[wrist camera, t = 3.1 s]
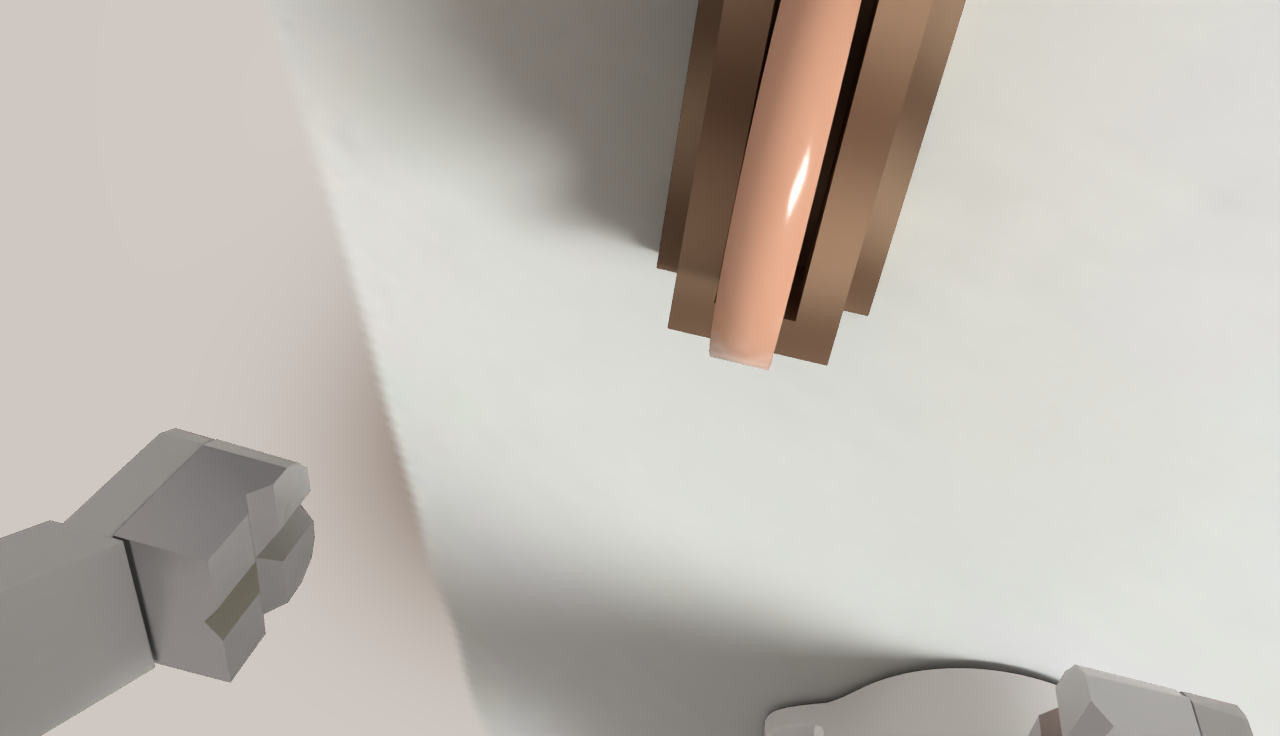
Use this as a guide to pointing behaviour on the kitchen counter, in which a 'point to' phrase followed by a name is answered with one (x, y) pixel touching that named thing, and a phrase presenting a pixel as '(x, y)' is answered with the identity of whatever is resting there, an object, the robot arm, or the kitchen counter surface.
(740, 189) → the terracotta plate
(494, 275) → the kitchen counter surface
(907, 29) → the walnut plate stand
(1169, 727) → the robot arm
